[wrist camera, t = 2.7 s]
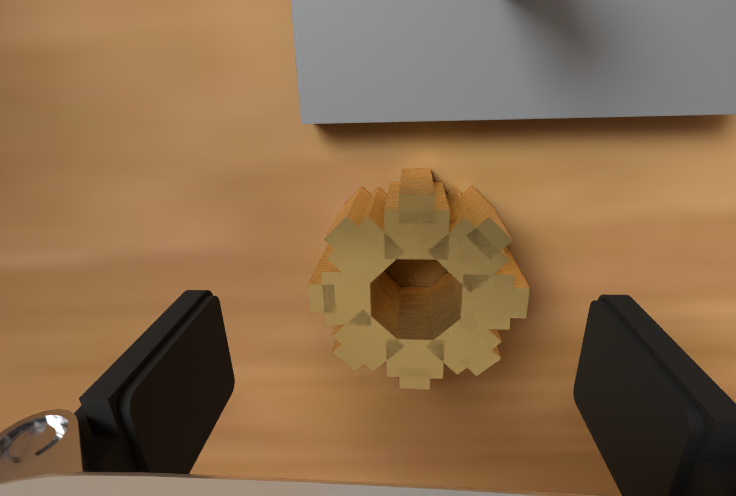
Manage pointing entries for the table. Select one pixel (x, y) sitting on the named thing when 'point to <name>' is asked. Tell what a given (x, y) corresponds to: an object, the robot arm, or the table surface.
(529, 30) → the gear board
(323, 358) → the table surface
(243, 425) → the table surface
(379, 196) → the brass gear
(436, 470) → the table surface
